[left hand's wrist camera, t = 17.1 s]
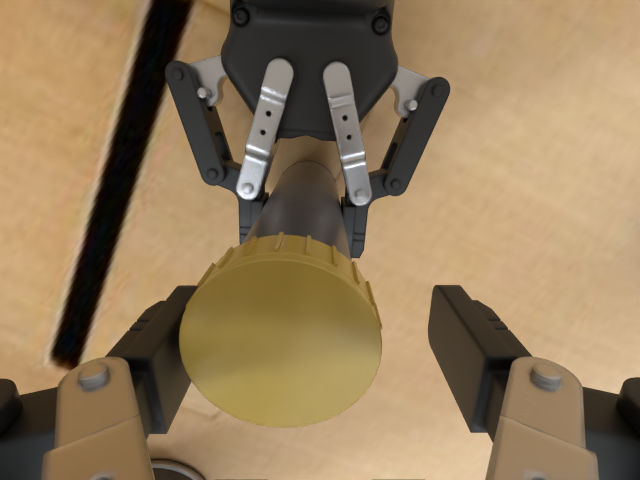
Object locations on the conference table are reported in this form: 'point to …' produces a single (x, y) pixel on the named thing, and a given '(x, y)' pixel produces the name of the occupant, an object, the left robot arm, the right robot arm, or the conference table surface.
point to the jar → (304, 208)
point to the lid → (282, 332)
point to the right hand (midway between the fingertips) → (302, 258)
